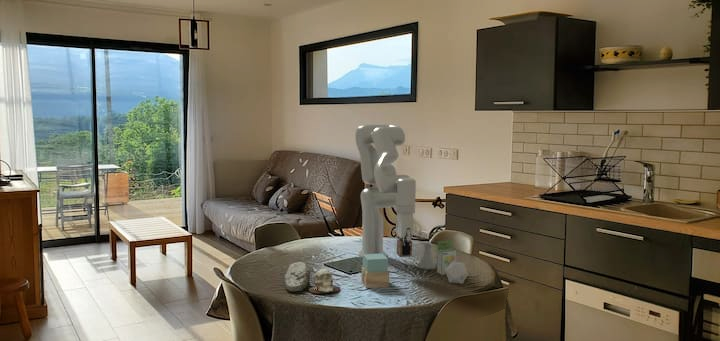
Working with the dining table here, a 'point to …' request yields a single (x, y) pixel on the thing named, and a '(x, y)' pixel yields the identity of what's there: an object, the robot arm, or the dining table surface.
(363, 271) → the bottom block
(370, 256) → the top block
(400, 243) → the walnut block
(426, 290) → the dining table surface
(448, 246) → the ink box
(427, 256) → the flask
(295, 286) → the elongated rock
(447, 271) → the die
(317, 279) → the skull
